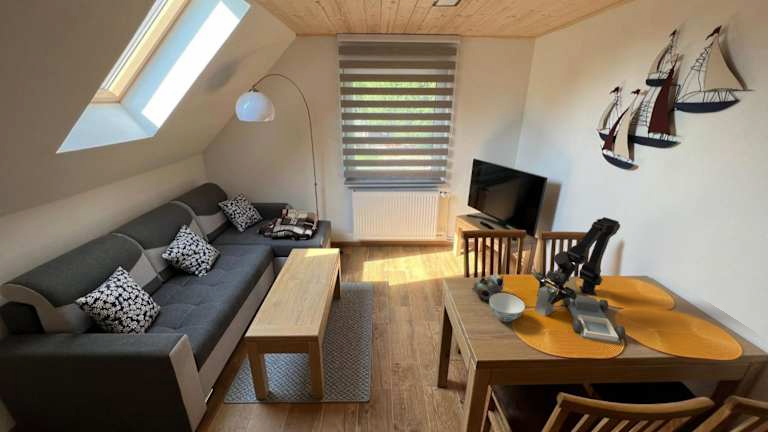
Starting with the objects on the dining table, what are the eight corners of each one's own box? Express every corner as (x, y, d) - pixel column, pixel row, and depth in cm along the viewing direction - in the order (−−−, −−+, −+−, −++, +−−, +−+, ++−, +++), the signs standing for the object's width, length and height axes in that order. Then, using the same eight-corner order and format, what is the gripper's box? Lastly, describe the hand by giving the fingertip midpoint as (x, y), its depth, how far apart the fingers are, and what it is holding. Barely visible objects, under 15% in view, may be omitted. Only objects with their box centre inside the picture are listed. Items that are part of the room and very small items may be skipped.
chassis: (561, 300, 162) (563, 291, 161) (602, 305, 158) (604, 296, 156) (576, 336, 138) (578, 326, 136) (625, 344, 134) (628, 334, 132)
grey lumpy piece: (475, 284, 175) (491, 264, 171) (495, 299, 170) (511, 279, 166) (468, 290, 162) (484, 268, 158) (488, 306, 157) (506, 284, 153)
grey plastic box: (543, 306, 157) (547, 285, 153) (552, 312, 153) (557, 290, 149) (534, 310, 154) (539, 288, 150) (544, 316, 150) (549, 294, 146)
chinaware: (527, 316, 150) (530, 302, 147) (514, 332, 140) (516, 317, 137) (496, 303, 160) (498, 289, 157) (481, 317, 150) (483, 303, 147)
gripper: (540, 256, 155) (520, 283, 154) (578, 274, 140) (557, 304, 139) (547, 267, 161) (529, 292, 160) (585, 285, 146) (565, 314, 145)
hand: (544, 300), depth 151 cm, fingers open, 7 cm apart
